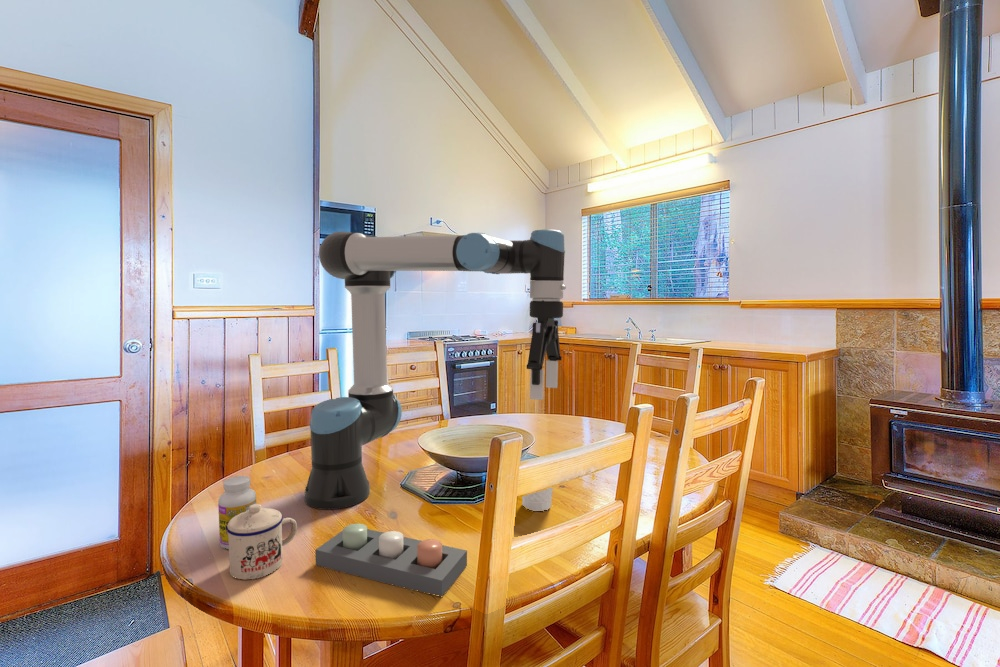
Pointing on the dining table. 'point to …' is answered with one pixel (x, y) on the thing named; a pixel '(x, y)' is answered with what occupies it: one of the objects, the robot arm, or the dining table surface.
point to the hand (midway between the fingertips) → (544, 393)
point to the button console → (393, 564)
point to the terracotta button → (429, 553)
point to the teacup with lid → (257, 542)
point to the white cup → (538, 500)
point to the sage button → (355, 536)
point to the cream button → (391, 544)
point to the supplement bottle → (233, 503)
